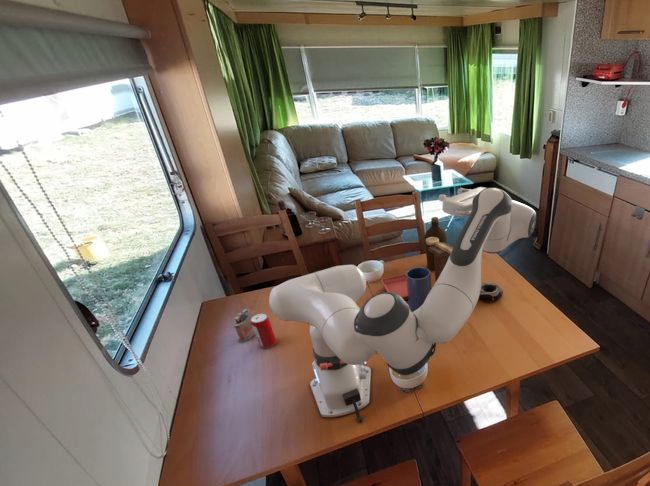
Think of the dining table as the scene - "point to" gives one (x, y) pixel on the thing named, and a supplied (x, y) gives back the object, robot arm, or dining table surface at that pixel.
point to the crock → (417, 286)
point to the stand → (439, 259)
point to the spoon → (438, 244)
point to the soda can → (263, 330)
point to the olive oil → (434, 232)
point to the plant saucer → (397, 285)
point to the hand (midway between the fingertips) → (449, 193)
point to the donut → (490, 292)
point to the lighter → (244, 325)
